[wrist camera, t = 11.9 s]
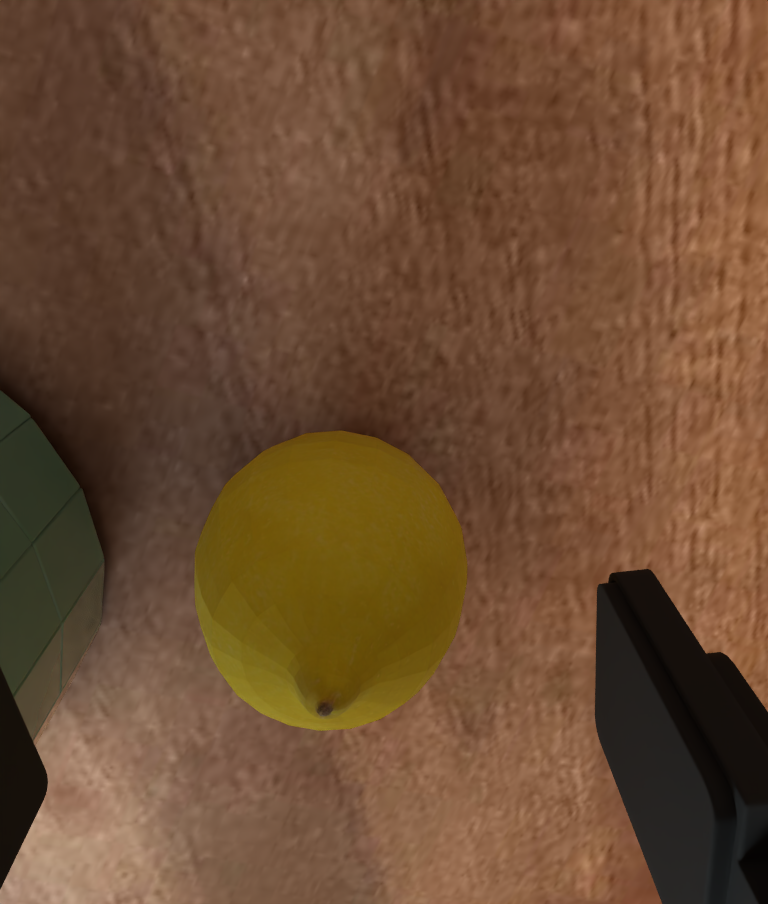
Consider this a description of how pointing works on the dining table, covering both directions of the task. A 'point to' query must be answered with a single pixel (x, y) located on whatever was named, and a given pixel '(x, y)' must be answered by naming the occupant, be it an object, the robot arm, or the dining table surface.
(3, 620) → the green pet bowl
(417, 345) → the dining table surface
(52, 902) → the dining table surface
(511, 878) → the dining table surface
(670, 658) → the robot arm
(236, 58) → the dining table surface
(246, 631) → the fruit
